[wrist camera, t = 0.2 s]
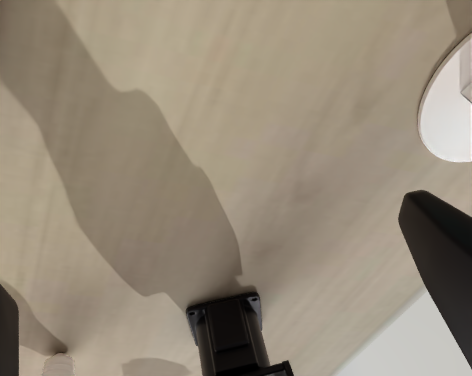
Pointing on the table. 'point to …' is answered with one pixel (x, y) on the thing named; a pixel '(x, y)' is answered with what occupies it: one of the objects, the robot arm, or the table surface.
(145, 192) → the table surface
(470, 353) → the robot arm
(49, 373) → the lightbulb
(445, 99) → the panda figurine
